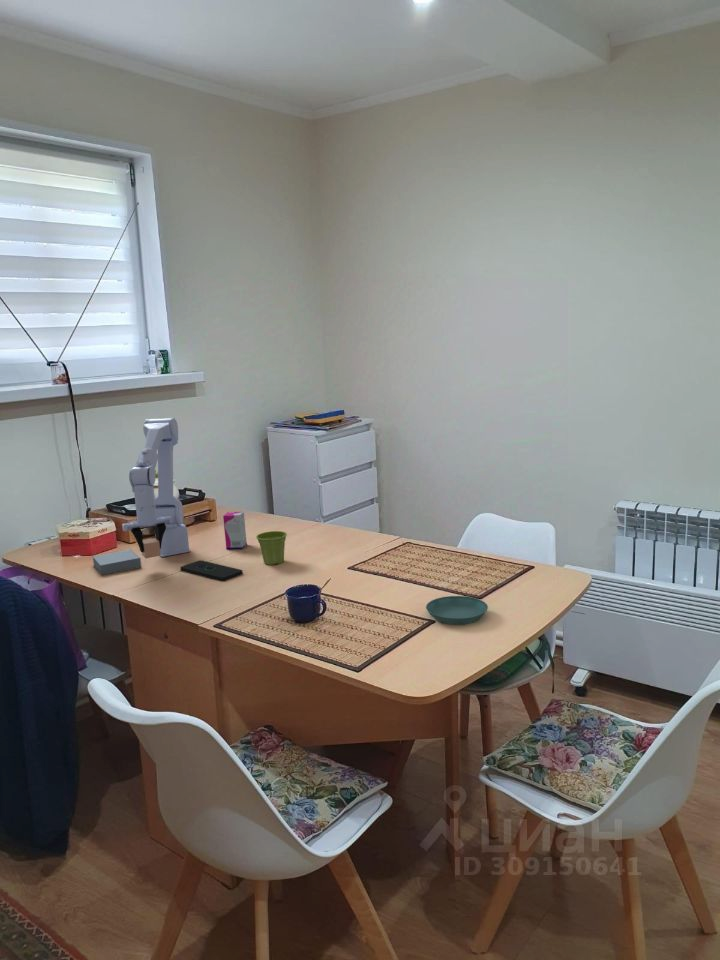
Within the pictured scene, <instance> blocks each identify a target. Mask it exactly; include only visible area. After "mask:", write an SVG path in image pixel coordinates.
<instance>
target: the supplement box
mask: <svg viewBox="0 0 720 960" xmlns="http://www.w3.org/2000/svg"><path fill="white" fill-rule="evenodd" d="M222 518H223V527H224V530H223V531H224V537H225V539H224V540H225V549H226V550H243V549H244V548H245V547H246V546H247V544H248V543H247V533H246V532H247V531H246V522H245V521H246V520H245V511H227V512H226V513H225V514H224V515H223V516H222Z"/></svg>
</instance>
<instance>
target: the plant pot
mask: <svg viewBox="0 0 720 960" xmlns="http://www.w3.org/2000/svg"><path fill="white" fill-rule="evenodd" d="M287 536H288V533H287V532H286V531H283V530H282V531H280V530H272V531H264V532H262V533H261V532H260V533H258V534H256V536H255V537H256V540H257V541H258V543H259V547H260V551H261V555H262V560H263V564H265V565H266V566H267V565H271V566H274V565H275V564H282V563H284V561H285V545H286V544H285V542H286V538H287Z"/></svg>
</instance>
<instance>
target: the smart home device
mask: <svg viewBox="0 0 720 960" xmlns="http://www.w3.org/2000/svg"><path fill="white" fill-rule="evenodd" d="M243 571H244V570H243V569H239V568H236V567H232V566H227V565H223V564H218V563H214V562H209V561H205V560H201V559H200V560H196V561H193V562H190V563H187V564H185V565H181V566H180V572H185V573H188V574H192V575H196V576H200V577H204V578H208V579H211V580H215V581H220V582H225V581H228V580H231V579H234V578H236V577H239V576H242V575H243V574H244V572H243Z"/></svg>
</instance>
